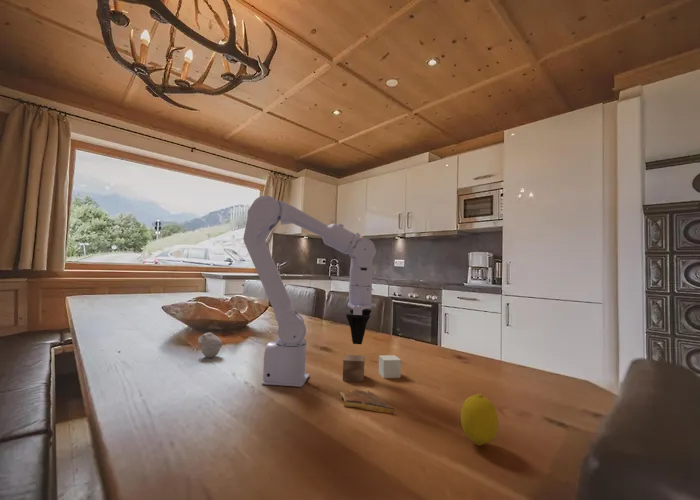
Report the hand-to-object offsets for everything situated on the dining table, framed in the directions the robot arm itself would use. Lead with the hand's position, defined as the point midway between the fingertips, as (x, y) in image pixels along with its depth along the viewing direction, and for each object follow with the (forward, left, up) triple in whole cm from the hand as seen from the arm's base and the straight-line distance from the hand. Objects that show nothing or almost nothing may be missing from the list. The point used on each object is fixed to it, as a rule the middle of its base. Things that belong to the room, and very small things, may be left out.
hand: (358, 340), depth 81 cm
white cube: (+8, +4, -10) cm, 13 cm away
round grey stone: (-44, +11, -10) cm, 46 cm away
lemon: (+21, -28, -10) cm, 36 cm away
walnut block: (-1, +1, -10) cm, 10 cm away
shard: (+3, -13, -10) cm, 17 cm away
